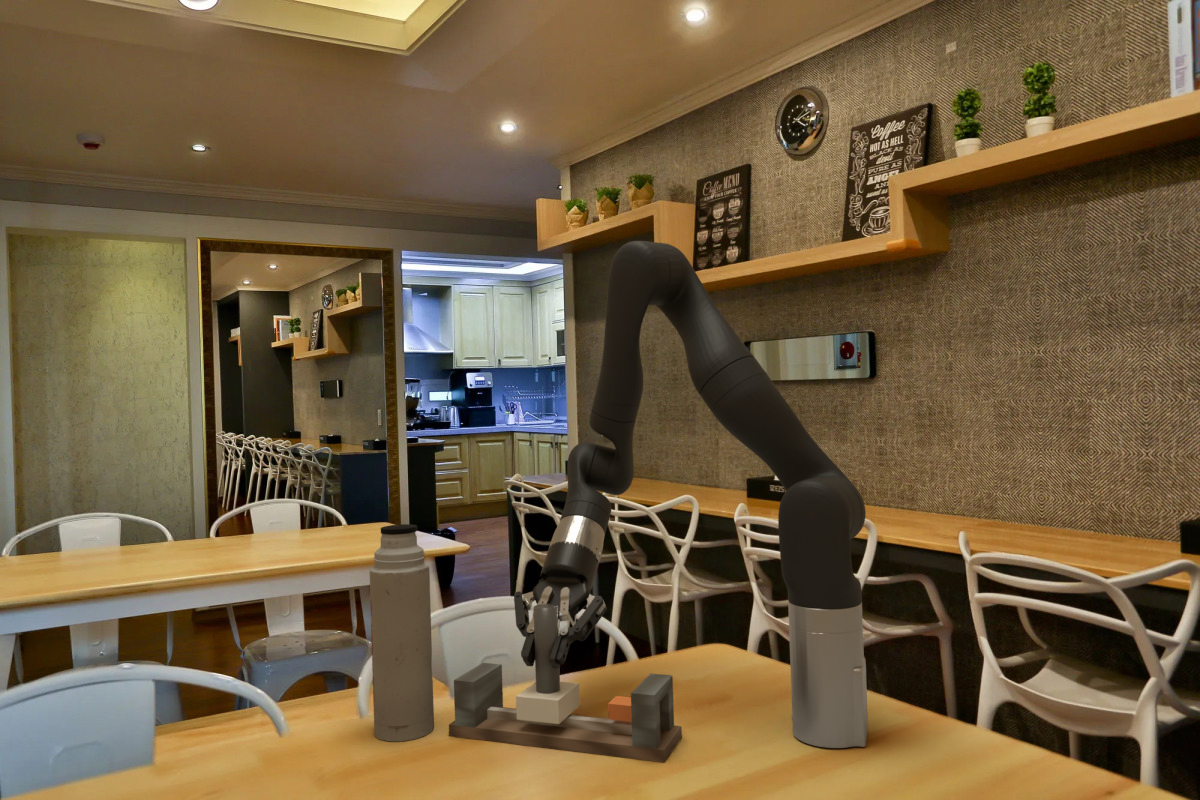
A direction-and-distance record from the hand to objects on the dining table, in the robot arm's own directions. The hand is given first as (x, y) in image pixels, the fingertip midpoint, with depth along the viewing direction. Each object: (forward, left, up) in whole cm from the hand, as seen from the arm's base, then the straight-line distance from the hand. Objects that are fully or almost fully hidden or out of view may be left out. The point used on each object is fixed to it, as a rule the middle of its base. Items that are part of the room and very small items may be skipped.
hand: (541, 664), depth 110 cm
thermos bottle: (+20, +2, -10) cm, 23 cm away
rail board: (-2, -2, -10) cm, 10 cm away
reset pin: (-12, -2, -6) cm, 13 cm away
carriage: (0, -2, -7) cm, 7 cm away
